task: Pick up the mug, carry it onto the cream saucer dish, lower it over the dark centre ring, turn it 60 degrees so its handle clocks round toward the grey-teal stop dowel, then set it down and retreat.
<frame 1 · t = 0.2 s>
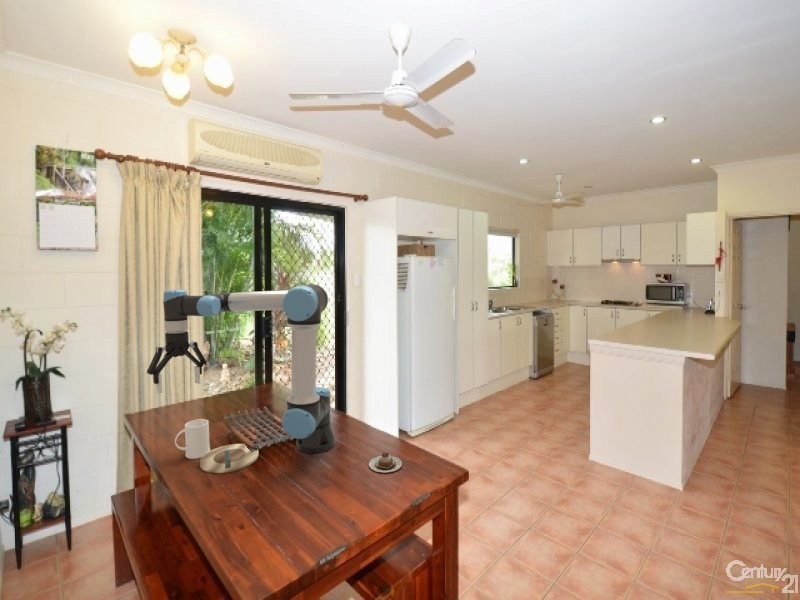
hand: (179, 387, 147), 26 cm above the table, fingers open, 13 cm apart
mug: (193, 455, 149), on the table
cream saucer dish: (229, 459, 146), on the table
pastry: (385, 467, 142), on the table
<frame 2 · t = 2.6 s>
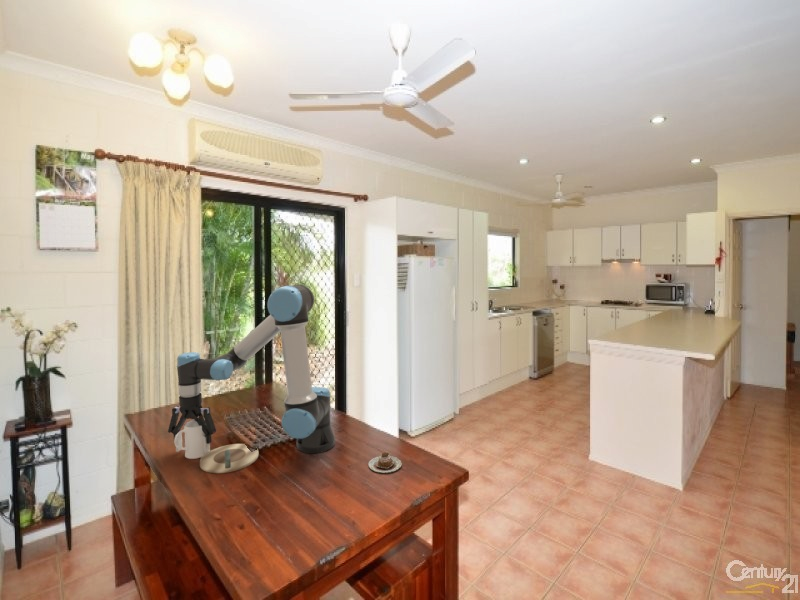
hand: (193, 450, 149), 1 cm above the table, fingers open, 10 cm apart
mug: (192, 455, 149), on the table, touching gripper
everything else where it was.
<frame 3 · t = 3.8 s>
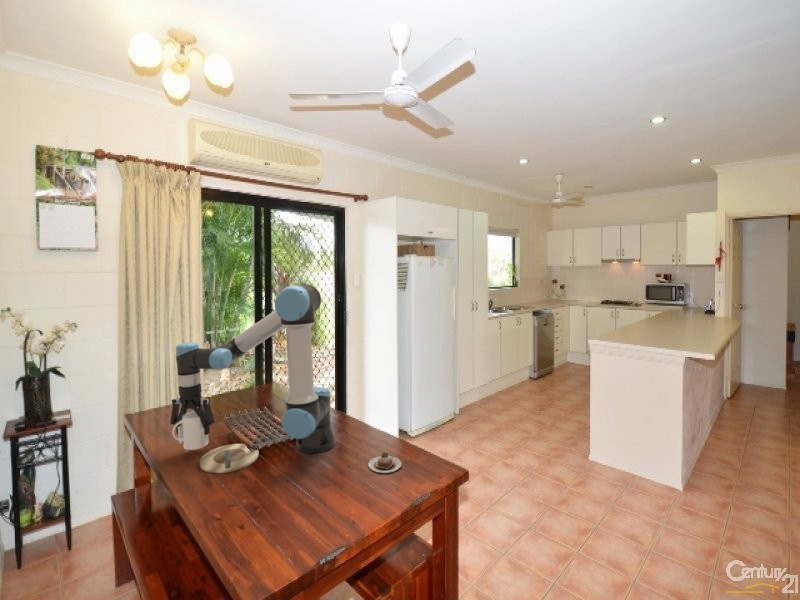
hand: (193, 442, 149), 5 cm above the table, fingers closed on mug, 9 cm apart
mug: (191, 446, 149), point 3 cm above the table, touching gripper
everything else where it was.
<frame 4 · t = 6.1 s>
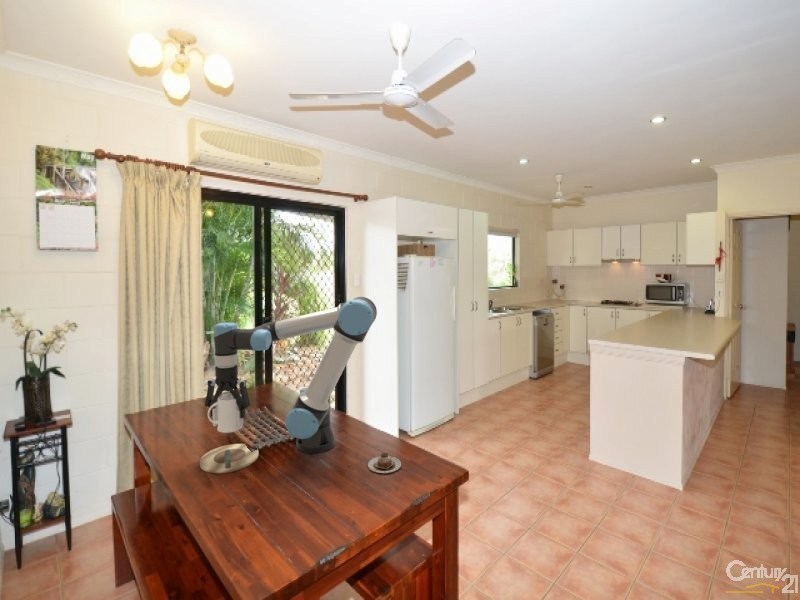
hand: (228, 425, 145), 13 cm above the table, fingers closed on mug, 9 cm apart
mug: (225, 429, 145), point 11 cm above the table, touching gripper
everything else where it was.
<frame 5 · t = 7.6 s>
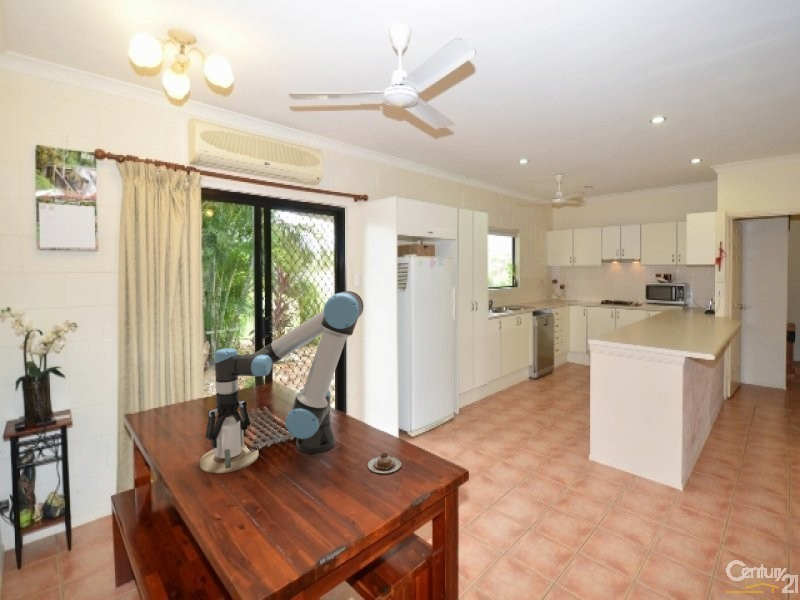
hand: (229, 450, 145), 3 cm above the table, fingers closed on mug, 9 cm apart
mug: (227, 455, 145), point 2 cm above the table, touching gripper
everything else where it was.
when the fingers open (3 cm above the table, at t = 8.6 s): mug stays where it is, resting on cream saucer dish.
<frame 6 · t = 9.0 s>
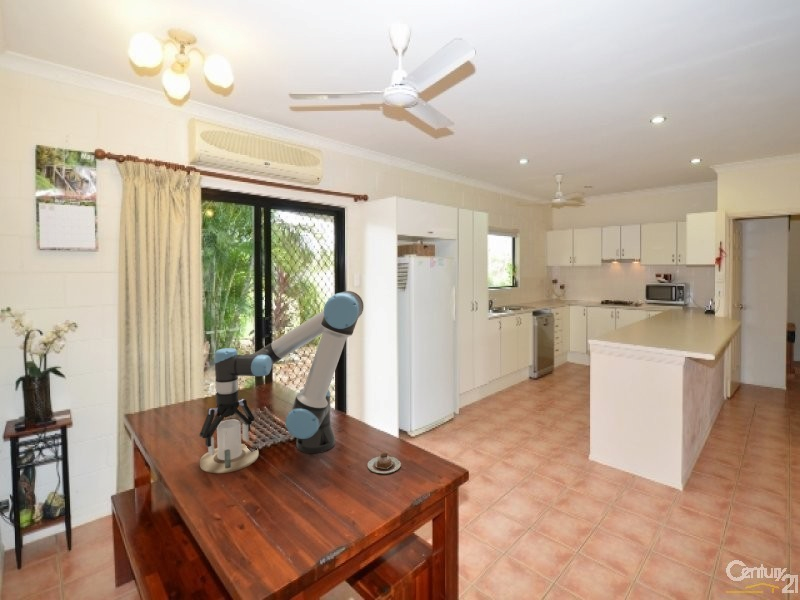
hand: (229, 447, 145), 5 cm above the table, fingers open, 13 cm apart
mug: (228, 457, 145), point 1 cm above the table, touching cream saucer dish
everything else where it was.
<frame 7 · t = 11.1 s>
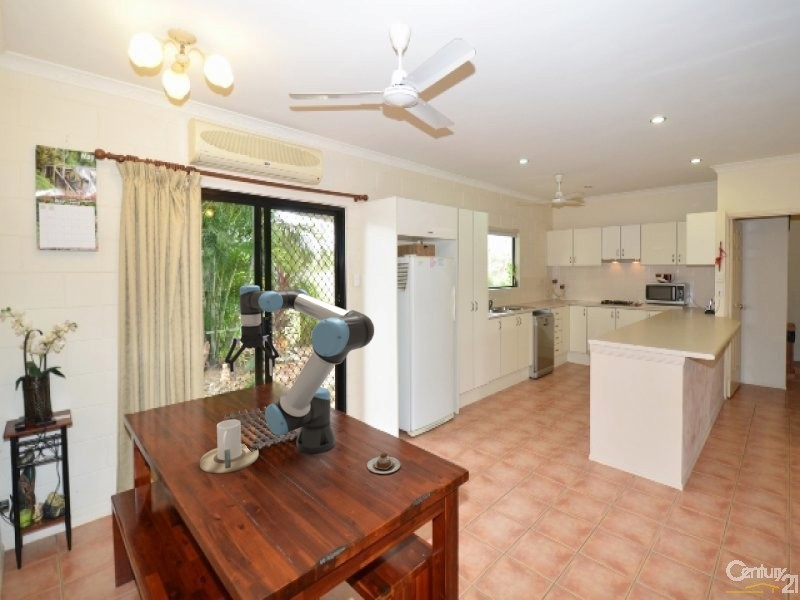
hand: (253, 377, 157), 27 cm above the table, fingers open, 13 cm apart
nothing on the table moved.
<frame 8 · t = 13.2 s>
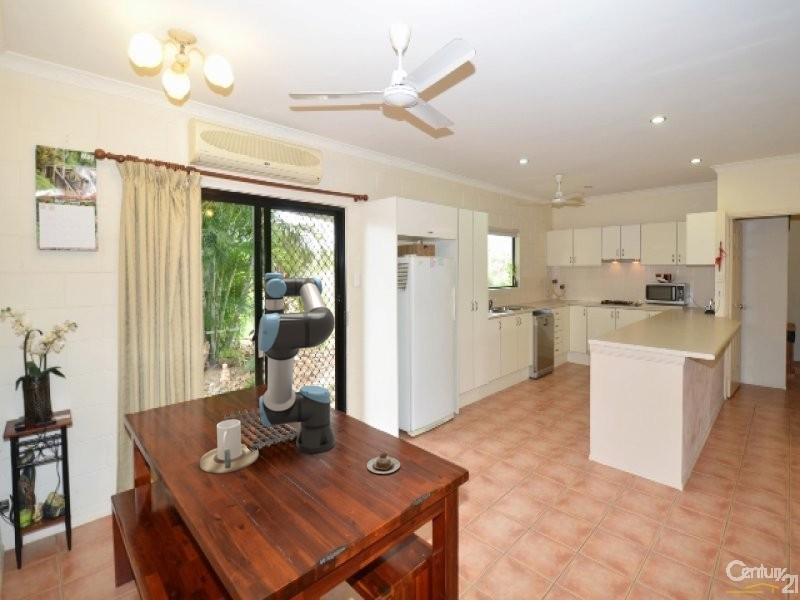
hand: (275, 357, 171), 32 cm above the table, fingers open, 13 cm apart
at the end: mug 1.0 cm from the cream saucer dish (horizontally); mug tilted 0°; the gripper is holding nothing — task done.
